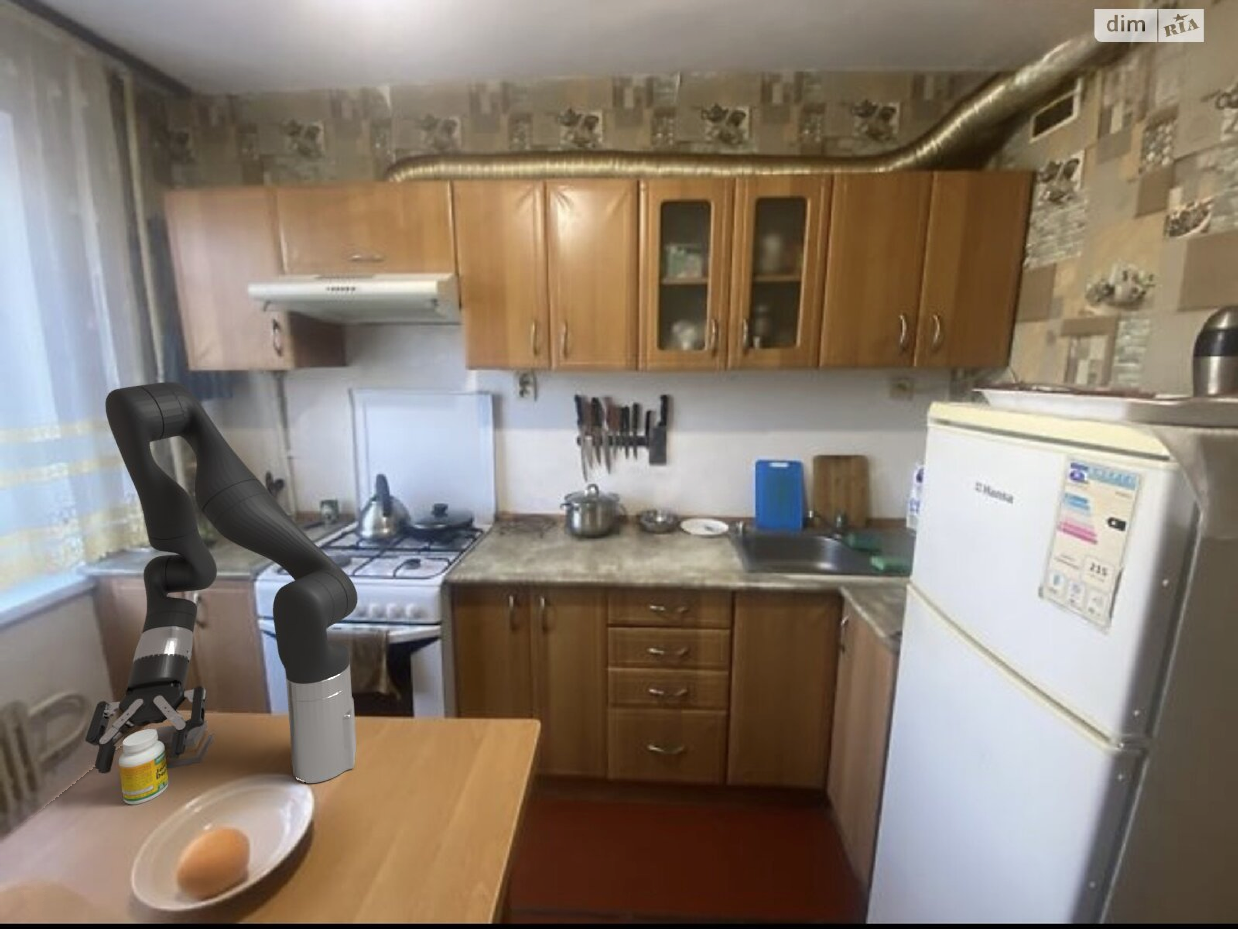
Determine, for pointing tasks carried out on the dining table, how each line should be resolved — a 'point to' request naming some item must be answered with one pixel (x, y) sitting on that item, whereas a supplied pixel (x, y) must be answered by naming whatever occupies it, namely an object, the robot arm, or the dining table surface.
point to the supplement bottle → (143, 767)
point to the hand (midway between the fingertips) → (139, 765)
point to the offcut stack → (194, 746)
